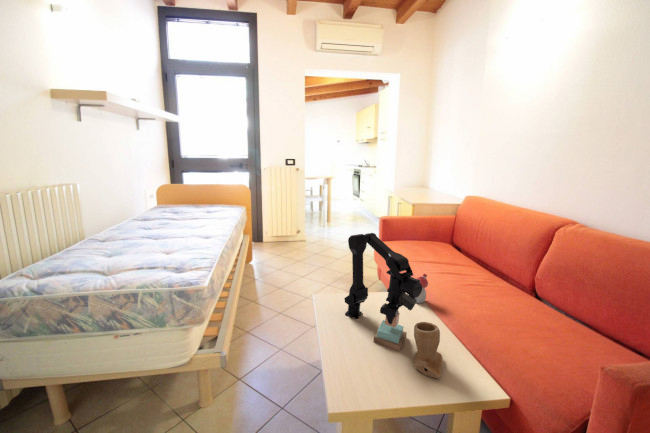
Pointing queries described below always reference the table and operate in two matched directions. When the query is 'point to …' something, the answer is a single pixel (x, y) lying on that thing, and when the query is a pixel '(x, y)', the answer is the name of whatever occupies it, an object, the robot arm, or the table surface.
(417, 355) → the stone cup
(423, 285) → the decorative ornament
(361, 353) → the table surface
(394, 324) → the terracotta cube
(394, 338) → the tower top
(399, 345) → the tower base
